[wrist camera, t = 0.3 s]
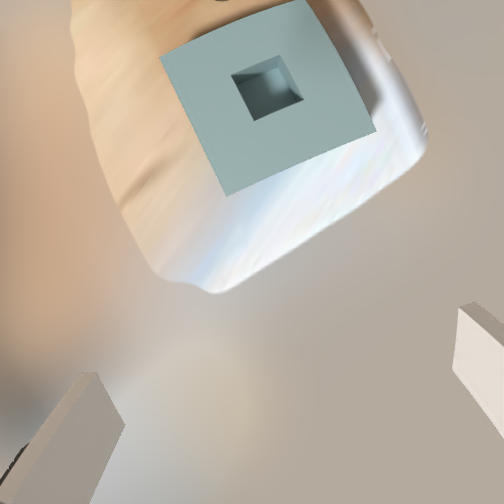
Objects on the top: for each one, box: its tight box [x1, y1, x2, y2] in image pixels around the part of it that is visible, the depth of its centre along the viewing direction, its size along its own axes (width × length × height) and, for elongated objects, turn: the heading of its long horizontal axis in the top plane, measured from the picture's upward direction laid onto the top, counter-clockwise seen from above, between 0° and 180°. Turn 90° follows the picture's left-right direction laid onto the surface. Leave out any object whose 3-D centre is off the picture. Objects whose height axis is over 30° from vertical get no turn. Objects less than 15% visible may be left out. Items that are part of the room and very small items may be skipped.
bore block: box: [159, 0, 376, 197], centre depth 30 cm, size 16×16×6 cm
